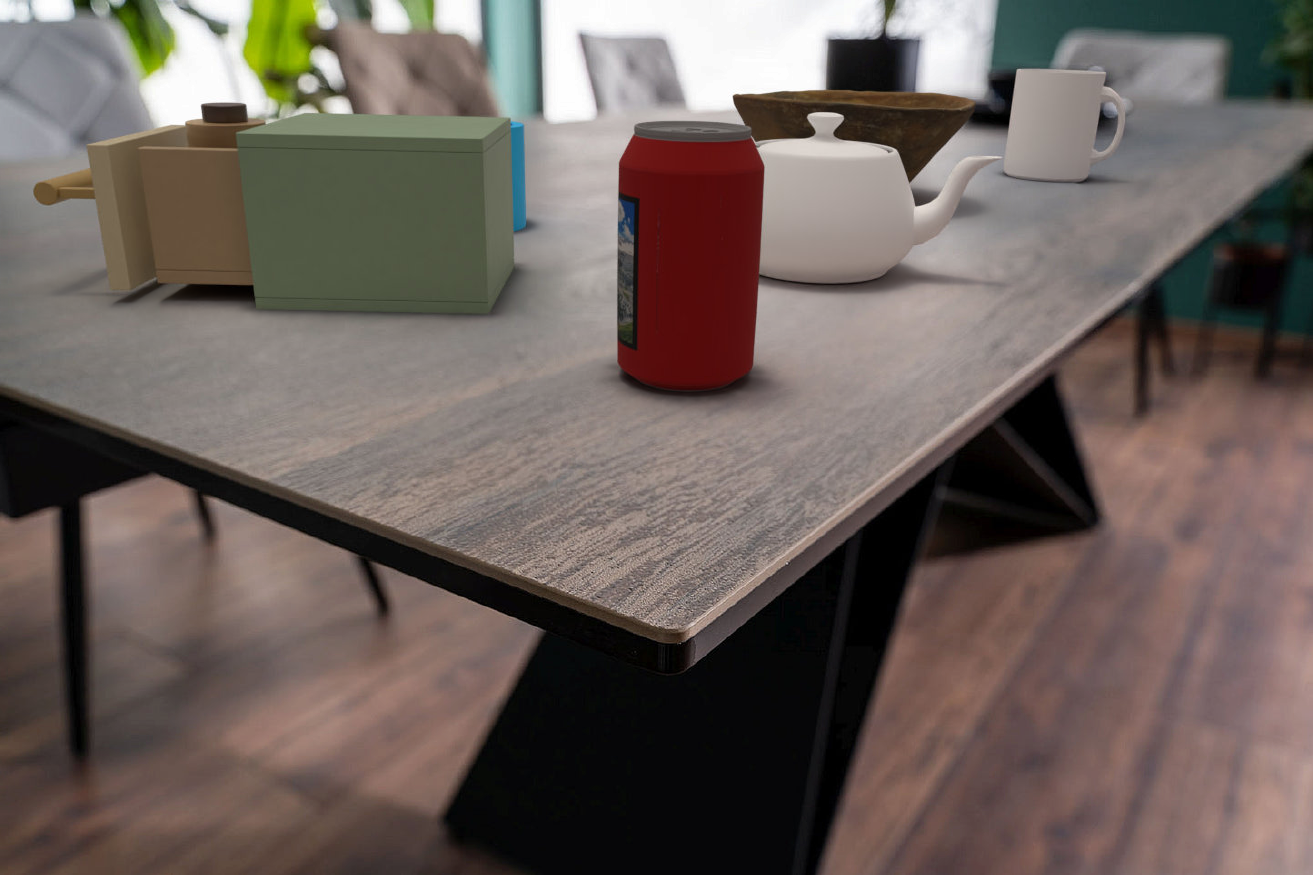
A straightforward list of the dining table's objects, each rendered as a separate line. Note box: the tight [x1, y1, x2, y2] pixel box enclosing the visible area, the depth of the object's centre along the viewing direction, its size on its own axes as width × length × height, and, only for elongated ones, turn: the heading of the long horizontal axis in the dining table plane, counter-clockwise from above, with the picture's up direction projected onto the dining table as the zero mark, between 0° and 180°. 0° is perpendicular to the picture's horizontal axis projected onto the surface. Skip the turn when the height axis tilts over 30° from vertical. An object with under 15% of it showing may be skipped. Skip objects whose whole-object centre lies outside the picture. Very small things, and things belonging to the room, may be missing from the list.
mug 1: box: [510, 120, 527, 232], centre depth 89 cm, size 12×8×8 cm
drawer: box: [32, 124, 253, 291], centre depth 67 cm, size 17×11×8 cm, turn 90°
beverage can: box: [616, 120, 765, 393], centre depth 51 cm, size 7×7×12 cm
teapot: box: [754, 112, 1003, 285], centre depth 74 cm, size 22×14×11 cm, turn 76°
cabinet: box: [236, 112, 515, 315], centre depth 67 cm, size 14×13×10 cm
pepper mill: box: [184, 101, 267, 149], centre depth 67 cm, size 5×5×9 cm
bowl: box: [732, 89, 977, 184], centre depth 104 cm, size 22×23×10 cm
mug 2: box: [1003, 68, 1126, 183], centre depth 122 cm, size 10×12×12 cm
